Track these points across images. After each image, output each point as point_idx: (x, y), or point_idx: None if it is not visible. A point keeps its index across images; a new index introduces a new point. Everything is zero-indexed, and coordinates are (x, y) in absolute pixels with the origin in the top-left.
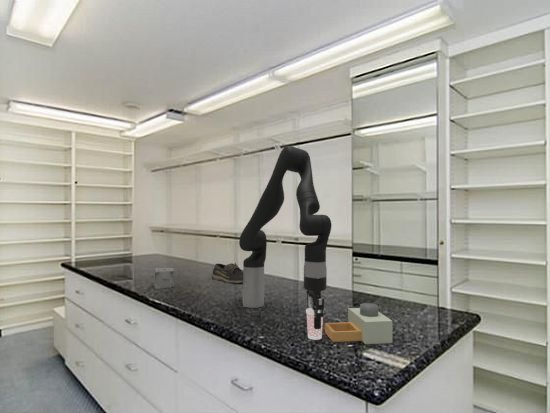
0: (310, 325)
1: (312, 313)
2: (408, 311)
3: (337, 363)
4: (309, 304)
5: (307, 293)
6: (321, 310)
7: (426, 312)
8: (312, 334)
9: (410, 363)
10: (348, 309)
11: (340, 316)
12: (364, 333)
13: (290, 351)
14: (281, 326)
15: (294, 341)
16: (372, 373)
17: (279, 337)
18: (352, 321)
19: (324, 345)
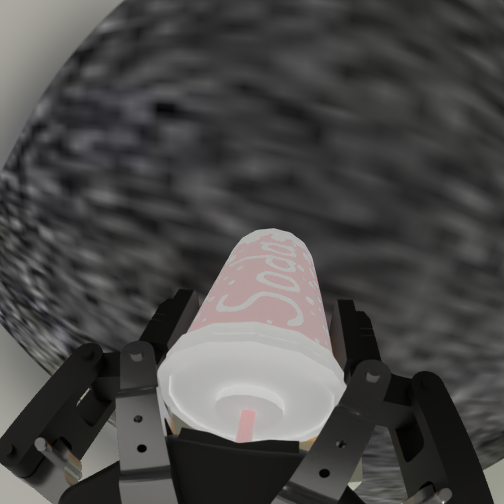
0: (219, 279)
1: (166, 360)
2: (398, 490)
3: (24, 261)
4: (325, 427)
5: (464, 501)
6: (96, 417)
7: (375, 501)
8: (228, 259)
9: (80, 400)
10: (358, 478)
11: (469, 406)
12: (175, 427)
13: (83, 98)
14: (495, 128)
15: (215, 129)
16: (12, 314)
17: (302, 45)
18: (306, 447)
19: (153, 277)
